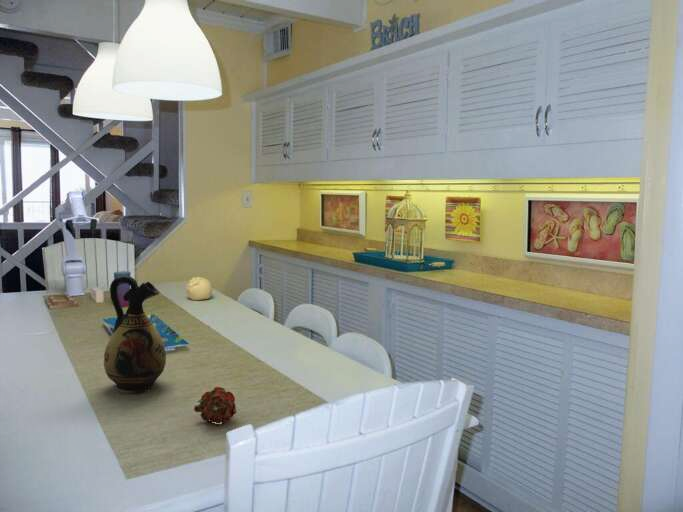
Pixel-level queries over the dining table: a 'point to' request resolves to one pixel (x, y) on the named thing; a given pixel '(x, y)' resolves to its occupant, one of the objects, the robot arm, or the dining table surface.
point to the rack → (61, 301)
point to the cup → (122, 288)
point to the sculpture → (199, 288)
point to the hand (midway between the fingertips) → (84, 235)
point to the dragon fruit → (217, 405)
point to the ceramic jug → (134, 341)
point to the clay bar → (97, 294)
